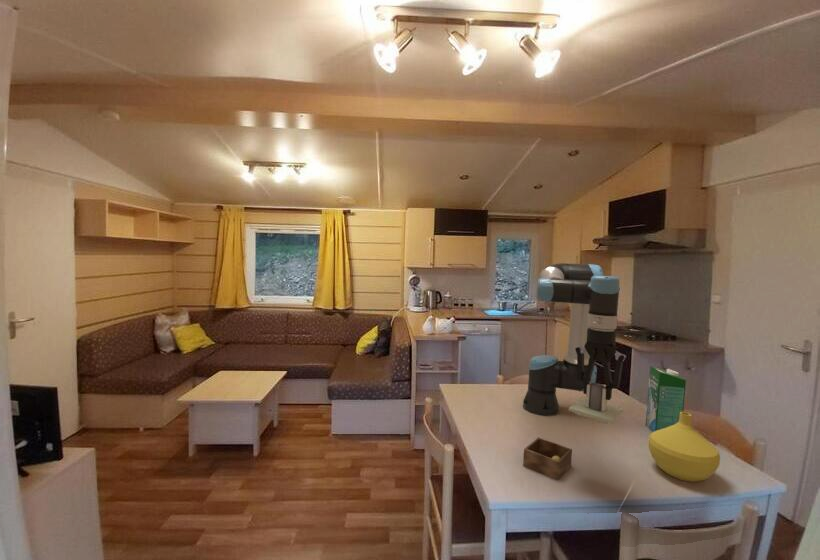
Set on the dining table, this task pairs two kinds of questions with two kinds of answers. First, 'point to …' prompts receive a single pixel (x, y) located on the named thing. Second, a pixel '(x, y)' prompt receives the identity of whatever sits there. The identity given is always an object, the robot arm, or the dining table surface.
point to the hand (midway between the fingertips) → (596, 407)
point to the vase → (683, 451)
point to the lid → (596, 406)
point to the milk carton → (664, 398)
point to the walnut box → (547, 458)
